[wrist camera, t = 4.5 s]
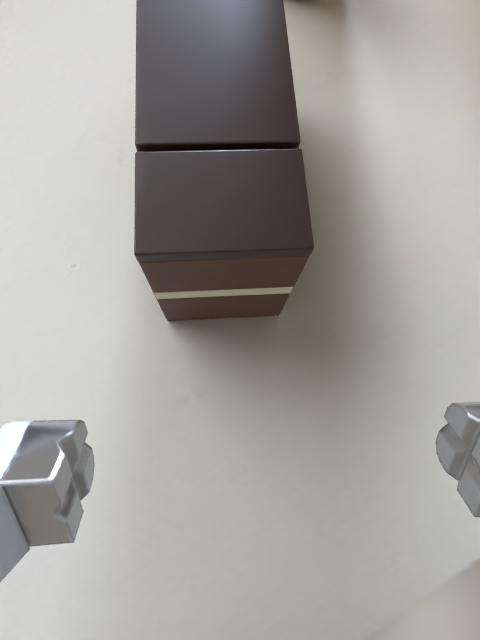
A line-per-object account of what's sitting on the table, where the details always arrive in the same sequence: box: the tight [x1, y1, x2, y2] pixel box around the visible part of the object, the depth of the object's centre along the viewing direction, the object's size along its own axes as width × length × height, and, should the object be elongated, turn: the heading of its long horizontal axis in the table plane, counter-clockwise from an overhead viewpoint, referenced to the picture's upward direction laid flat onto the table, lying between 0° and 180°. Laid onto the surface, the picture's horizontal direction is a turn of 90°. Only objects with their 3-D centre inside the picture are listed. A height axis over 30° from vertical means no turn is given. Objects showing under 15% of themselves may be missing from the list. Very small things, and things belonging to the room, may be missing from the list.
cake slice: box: [134, 149, 314, 321], centre depth 17 cm, size 4×6×8 cm, turn 93°
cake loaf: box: [135, 0, 300, 152], centre depth 19 cm, size 10×6×8 cm, turn 4°
